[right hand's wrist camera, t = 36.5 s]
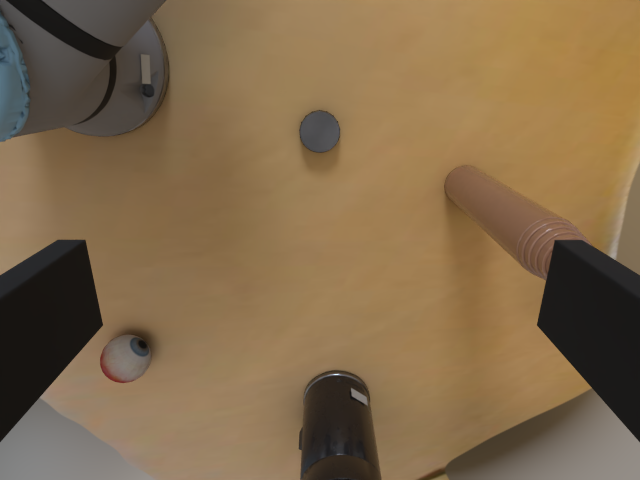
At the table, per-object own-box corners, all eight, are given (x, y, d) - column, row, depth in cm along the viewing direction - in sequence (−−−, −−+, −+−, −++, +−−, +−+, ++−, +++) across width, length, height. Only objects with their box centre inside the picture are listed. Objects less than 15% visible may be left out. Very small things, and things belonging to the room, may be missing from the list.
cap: (291, 129, 48) (290, 131, 47) (320, 101, 47) (320, 101, 46) (318, 158, 50) (318, 161, 48) (347, 131, 48) (348, 133, 47)
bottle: (484, 163, 50) (633, 240, 26) (482, 201, 51) (622, 307, 28) (444, 167, 50) (556, 247, 26) (444, 205, 51) (550, 313, 28)
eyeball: (168, 345, 58) (152, 373, 53) (138, 370, 60) (119, 401, 54) (134, 316, 57) (113, 342, 51) (104, 343, 58) (81, 371, 53)
